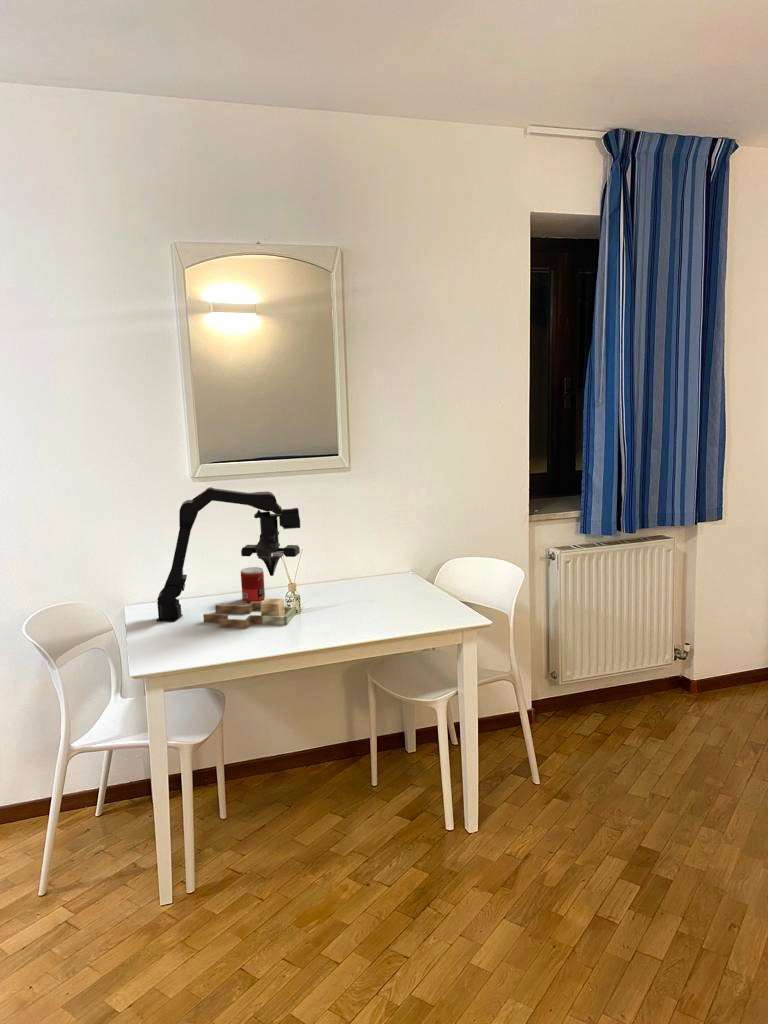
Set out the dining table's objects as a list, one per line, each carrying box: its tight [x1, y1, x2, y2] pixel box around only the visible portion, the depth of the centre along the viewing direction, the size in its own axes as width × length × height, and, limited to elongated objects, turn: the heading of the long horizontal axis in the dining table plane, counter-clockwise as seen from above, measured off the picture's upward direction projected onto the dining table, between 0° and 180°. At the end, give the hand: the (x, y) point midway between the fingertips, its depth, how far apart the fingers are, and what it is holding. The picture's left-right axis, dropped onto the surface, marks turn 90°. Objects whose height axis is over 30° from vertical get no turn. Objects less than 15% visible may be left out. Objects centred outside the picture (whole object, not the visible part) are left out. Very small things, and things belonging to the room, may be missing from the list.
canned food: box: [240, 566, 266, 604], centre depth 268 cm, size 8×8×11 cm
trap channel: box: [203, 601, 298, 629], centre depth 249 cm, size 28×20×2 cm
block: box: [260, 598, 285, 616], centre depth 247 cm, size 6×6×6 cm
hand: (271, 575), depth 255 cm, fingers closed
